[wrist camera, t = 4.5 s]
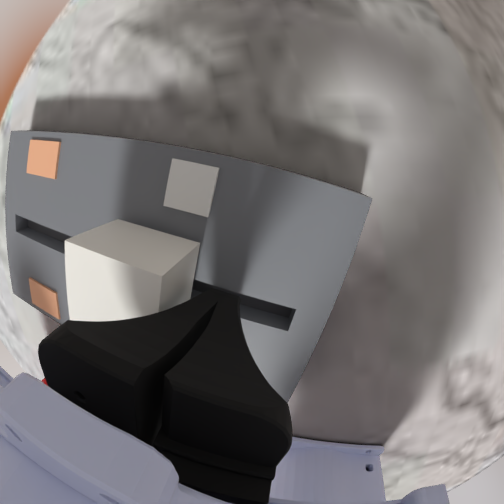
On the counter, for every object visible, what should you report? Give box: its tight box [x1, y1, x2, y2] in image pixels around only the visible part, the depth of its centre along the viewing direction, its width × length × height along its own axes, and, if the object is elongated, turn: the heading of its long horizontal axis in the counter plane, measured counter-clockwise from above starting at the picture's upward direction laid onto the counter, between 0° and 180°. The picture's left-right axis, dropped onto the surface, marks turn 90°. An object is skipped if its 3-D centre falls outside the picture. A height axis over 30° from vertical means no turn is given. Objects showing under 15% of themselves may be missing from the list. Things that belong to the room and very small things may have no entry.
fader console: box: [5, 131, 372, 403], centre depth 13 cm, size 21×12×2 cm, turn 76°
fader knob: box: [65, 219, 200, 321], centre depth 11 cm, size 4×5×5 cm
